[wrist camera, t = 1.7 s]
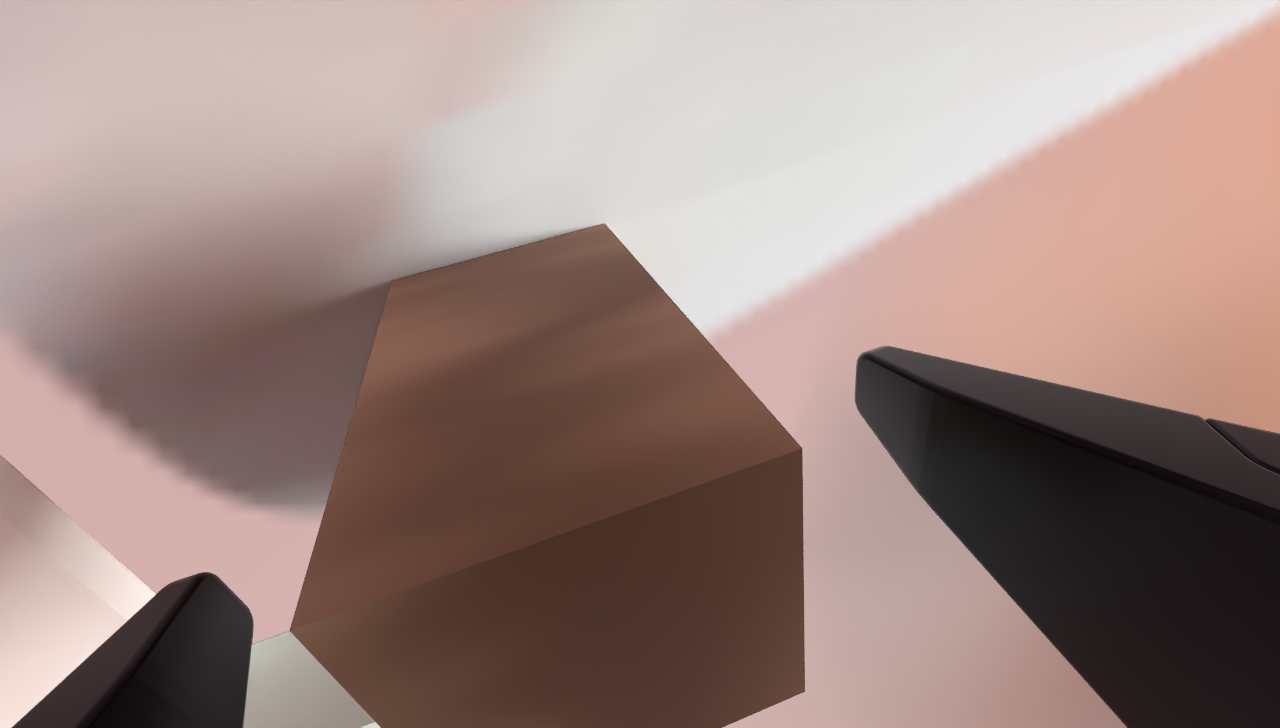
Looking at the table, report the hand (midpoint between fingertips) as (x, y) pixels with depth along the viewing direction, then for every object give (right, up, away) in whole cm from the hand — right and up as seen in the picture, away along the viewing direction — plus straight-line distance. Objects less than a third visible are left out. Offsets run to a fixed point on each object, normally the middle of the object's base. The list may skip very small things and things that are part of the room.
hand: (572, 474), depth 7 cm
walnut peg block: (-1, +2, +4) cm, 4 cm away
